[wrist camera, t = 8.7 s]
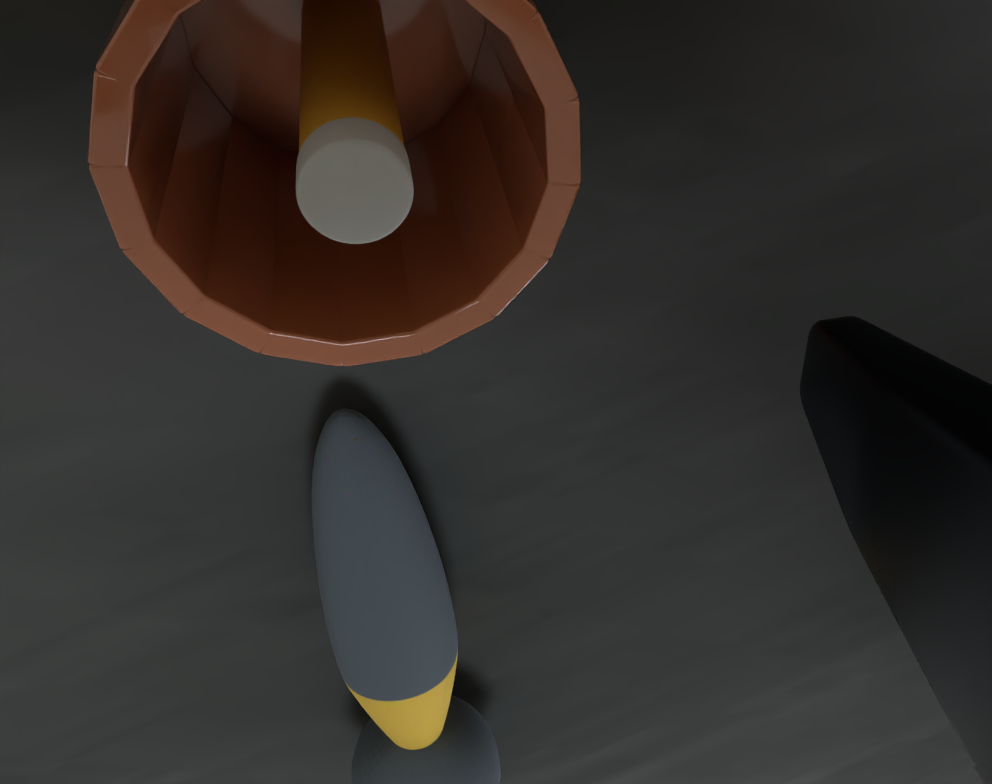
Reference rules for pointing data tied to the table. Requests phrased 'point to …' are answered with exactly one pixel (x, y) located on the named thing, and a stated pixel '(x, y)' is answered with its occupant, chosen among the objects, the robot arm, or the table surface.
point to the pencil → (349, 125)
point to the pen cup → (272, 172)
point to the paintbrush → (391, 615)
